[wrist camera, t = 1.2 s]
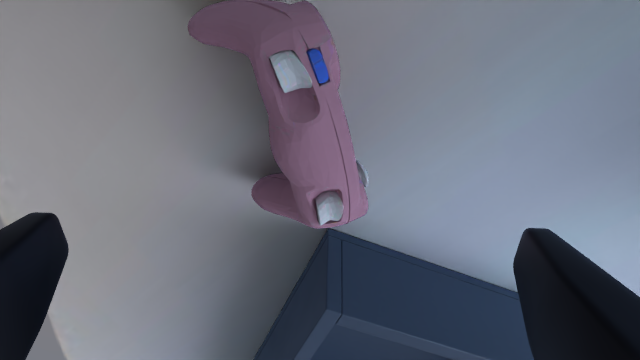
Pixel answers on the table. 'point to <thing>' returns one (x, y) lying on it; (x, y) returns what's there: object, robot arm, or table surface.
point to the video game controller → (294, 107)
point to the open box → (392, 310)
